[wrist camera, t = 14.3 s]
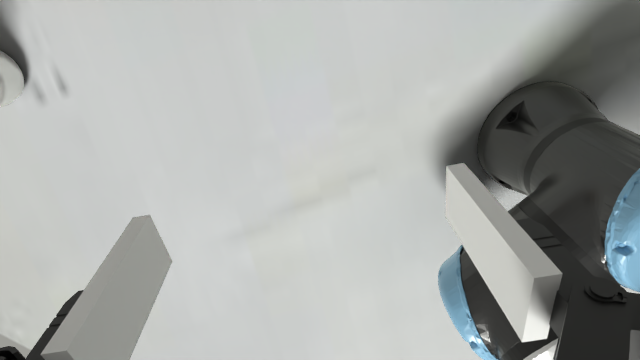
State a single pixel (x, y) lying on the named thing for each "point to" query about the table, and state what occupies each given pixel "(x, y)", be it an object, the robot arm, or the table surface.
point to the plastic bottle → (10, 80)
